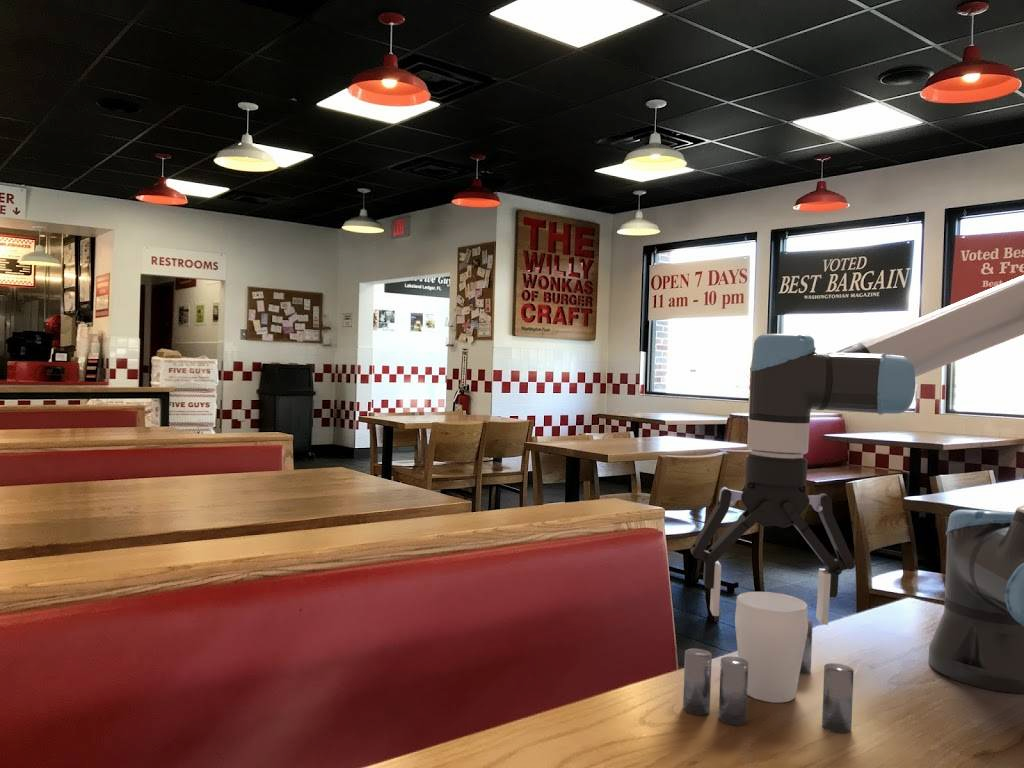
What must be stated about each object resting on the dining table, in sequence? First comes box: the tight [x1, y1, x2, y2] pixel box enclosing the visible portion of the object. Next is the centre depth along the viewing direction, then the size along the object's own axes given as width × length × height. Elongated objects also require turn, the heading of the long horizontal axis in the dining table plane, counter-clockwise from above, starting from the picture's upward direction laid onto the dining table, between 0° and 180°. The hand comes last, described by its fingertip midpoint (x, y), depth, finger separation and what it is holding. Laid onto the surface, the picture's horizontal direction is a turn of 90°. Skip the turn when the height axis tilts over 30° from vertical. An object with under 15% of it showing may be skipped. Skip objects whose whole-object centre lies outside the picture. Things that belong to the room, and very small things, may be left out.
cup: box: [734, 591, 808, 704], centre depth 103 cm, size 9×9×12 cm
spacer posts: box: [682, 618, 854, 734], centre depth 104 cm, size 19×21×7 cm
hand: (767, 617), depth 103 cm, fingers open, 13 cm apart
